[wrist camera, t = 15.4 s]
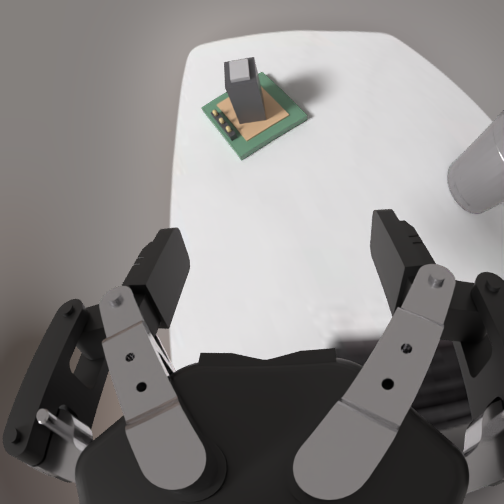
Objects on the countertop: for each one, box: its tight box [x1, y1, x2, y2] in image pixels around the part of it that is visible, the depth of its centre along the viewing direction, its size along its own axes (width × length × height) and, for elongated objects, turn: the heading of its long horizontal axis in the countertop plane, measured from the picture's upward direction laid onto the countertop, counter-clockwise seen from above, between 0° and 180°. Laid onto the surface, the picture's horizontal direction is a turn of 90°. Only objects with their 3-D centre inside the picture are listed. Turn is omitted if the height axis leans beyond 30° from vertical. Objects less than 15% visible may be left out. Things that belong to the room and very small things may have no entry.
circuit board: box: [202, 72, 307, 160], centre depth 41 cm, size 12×12×3 cm
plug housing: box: [224, 57, 266, 124], centre depth 36 cm, size 4×5×10 cm
